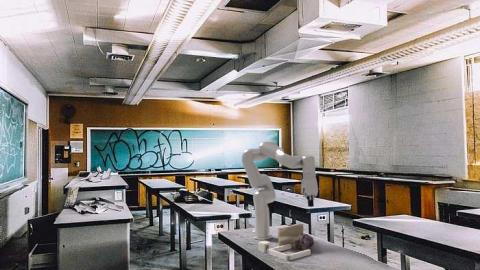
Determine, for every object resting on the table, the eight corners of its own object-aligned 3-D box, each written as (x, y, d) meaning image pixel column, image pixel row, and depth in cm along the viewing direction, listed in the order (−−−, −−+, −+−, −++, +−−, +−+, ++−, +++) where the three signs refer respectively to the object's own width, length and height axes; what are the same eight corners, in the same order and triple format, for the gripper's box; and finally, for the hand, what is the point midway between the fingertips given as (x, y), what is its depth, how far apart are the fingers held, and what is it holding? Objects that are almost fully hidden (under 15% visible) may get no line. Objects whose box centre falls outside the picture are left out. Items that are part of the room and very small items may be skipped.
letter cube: (258, 250, 222) (258, 242, 222) (264, 249, 225) (264, 240, 225) (264, 252, 218) (263, 244, 218) (270, 251, 221) (270, 242, 221)
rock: (303, 255, 216) (317, 252, 220) (304, 240, 215) (318, 238, 219) (292, 247, 226) (306, 244, 231) (292, 233, 225) (307, 231, 229)
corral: (267, 253, 216) (267, 249, 216) (289, 248, 226) (289, 243, 226) (288, 260, 202) (288, 255, 202) (310, 254, 213) (310, 249, 213)
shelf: (275, 247, 227) (275, 227, 227) (299, 242, 239) (298, 223, 239) (282, 250, 222) (282, 229, 223) (306, 244, 234) (305, 224, 235)
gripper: (313, 175, 238) (314, 204, 237) (295, 176, 229) (297, 207, 228) (322, 175, 232) (324, 205, 231) (304, 177, 223) (306, 208, 222)
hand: (310, 206), depth 229 cm, fingers closed
